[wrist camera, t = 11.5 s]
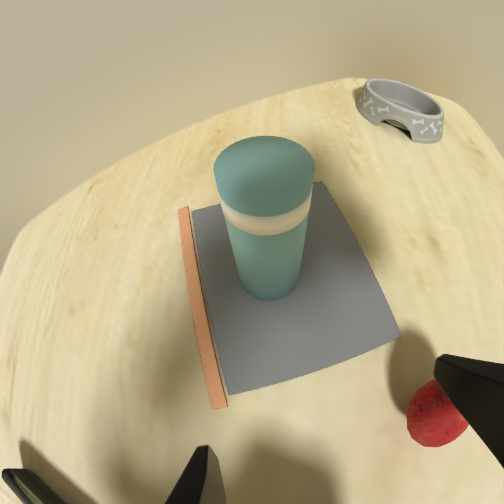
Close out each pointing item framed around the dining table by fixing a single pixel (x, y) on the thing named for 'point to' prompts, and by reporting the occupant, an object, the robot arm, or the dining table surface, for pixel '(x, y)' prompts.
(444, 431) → the onion
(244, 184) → the teal cylinder
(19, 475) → the black stapler
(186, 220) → the orange strip
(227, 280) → the mat
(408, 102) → the dog bowl
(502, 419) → the robot arm
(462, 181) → the dining table surface
